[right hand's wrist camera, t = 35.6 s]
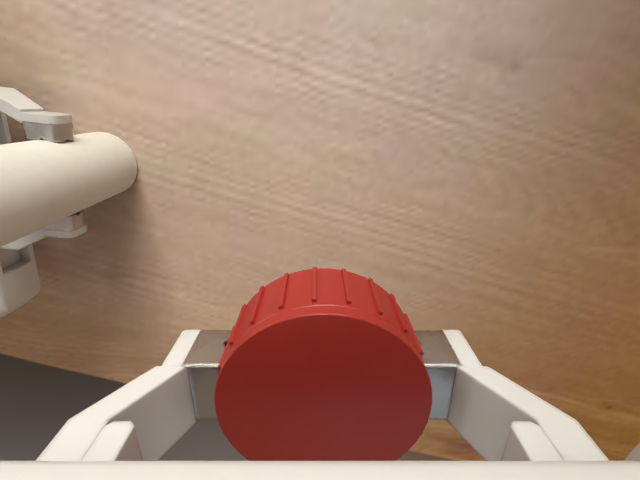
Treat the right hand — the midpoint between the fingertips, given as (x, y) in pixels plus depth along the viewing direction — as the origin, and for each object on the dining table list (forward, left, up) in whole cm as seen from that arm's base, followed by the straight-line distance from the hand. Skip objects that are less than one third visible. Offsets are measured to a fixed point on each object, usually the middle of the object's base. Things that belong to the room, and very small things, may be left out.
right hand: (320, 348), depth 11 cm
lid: (0, 0, +2) cm, 2 cm away
